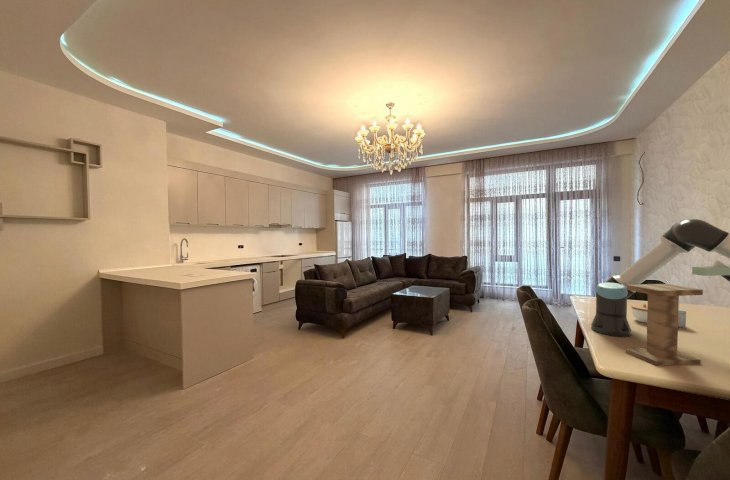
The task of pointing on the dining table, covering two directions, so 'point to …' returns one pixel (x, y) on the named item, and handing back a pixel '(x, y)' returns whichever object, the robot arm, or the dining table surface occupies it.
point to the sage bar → (711, 270)
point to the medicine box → (681, 318)
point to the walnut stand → (663, 324)
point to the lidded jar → (640, 312)
